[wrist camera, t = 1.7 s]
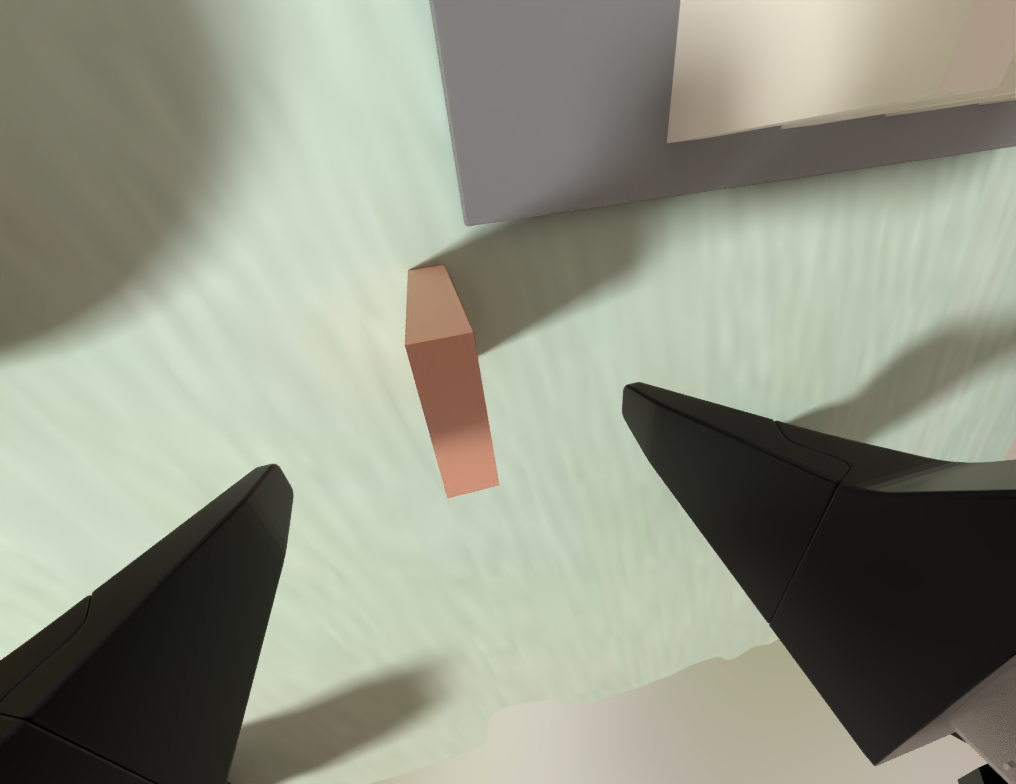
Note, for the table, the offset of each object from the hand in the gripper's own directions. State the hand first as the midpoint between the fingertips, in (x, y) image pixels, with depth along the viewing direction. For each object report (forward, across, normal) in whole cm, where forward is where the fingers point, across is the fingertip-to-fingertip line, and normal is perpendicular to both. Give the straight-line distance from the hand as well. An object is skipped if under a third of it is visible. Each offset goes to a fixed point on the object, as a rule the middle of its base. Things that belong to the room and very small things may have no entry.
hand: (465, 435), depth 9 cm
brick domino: (+9, 0, 0) cm, 9 cm away
